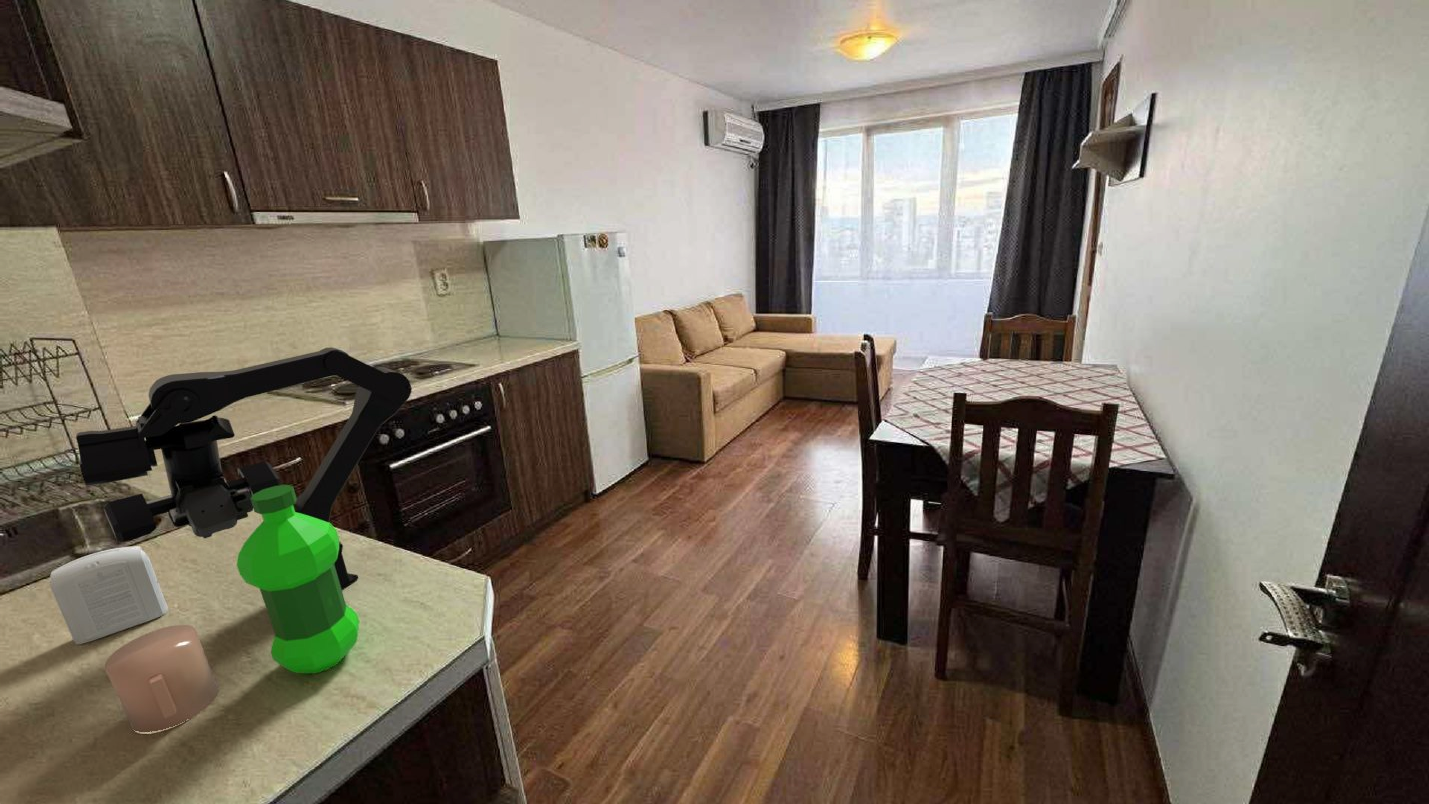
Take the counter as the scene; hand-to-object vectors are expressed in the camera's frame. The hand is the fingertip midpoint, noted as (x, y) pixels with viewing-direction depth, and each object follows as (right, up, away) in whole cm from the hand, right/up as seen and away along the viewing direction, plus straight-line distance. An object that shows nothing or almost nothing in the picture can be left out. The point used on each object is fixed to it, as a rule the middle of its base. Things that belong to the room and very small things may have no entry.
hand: (206, 535), depth 88 cm
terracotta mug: (+12, -17, -17) cm, 27 cm away
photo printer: (-12, -14, -1) cm, 18 cm away
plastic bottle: (+25, -14, -10) cm, 31 cm away
